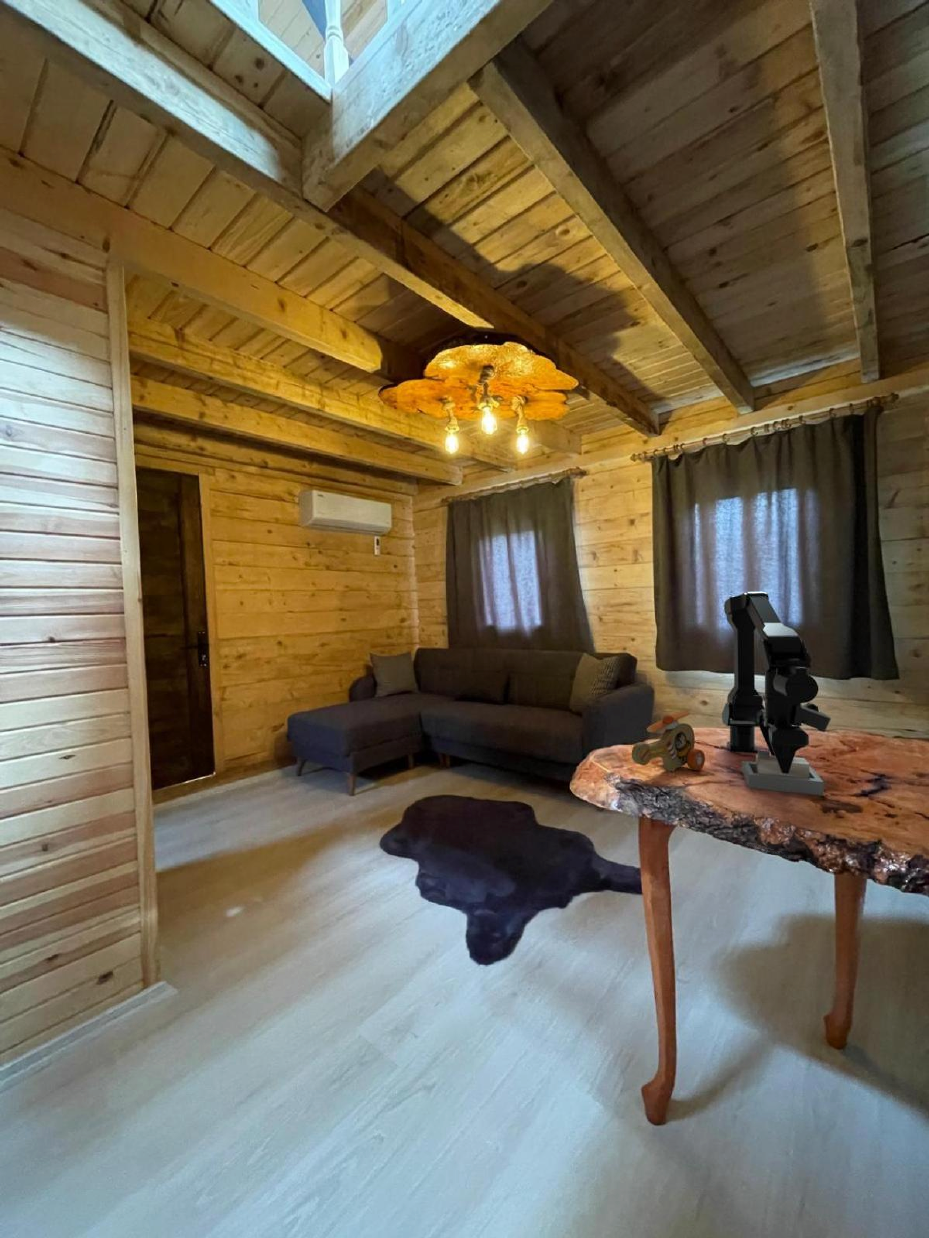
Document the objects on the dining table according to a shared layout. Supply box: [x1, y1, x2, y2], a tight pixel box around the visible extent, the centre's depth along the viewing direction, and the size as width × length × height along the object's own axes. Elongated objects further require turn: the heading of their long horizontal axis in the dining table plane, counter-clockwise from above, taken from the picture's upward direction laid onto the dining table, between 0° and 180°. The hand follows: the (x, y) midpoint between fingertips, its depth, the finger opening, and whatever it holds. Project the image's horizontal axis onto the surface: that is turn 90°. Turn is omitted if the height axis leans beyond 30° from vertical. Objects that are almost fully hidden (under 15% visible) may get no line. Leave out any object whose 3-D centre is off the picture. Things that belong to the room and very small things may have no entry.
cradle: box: [742, 760, 824, 796], centre depth 107 cm, size 9×13×3 cm
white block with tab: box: [755, 749, 810, 778], centre depth 107 cm, size 4×9×6 cm, turn 68°
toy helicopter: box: [631, 709, 706, 772], centre depth 115 cm, size 8×21×14 cm, turn 122°
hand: (780, 765), depth 107 cm, fingers open, 9 cm apart
